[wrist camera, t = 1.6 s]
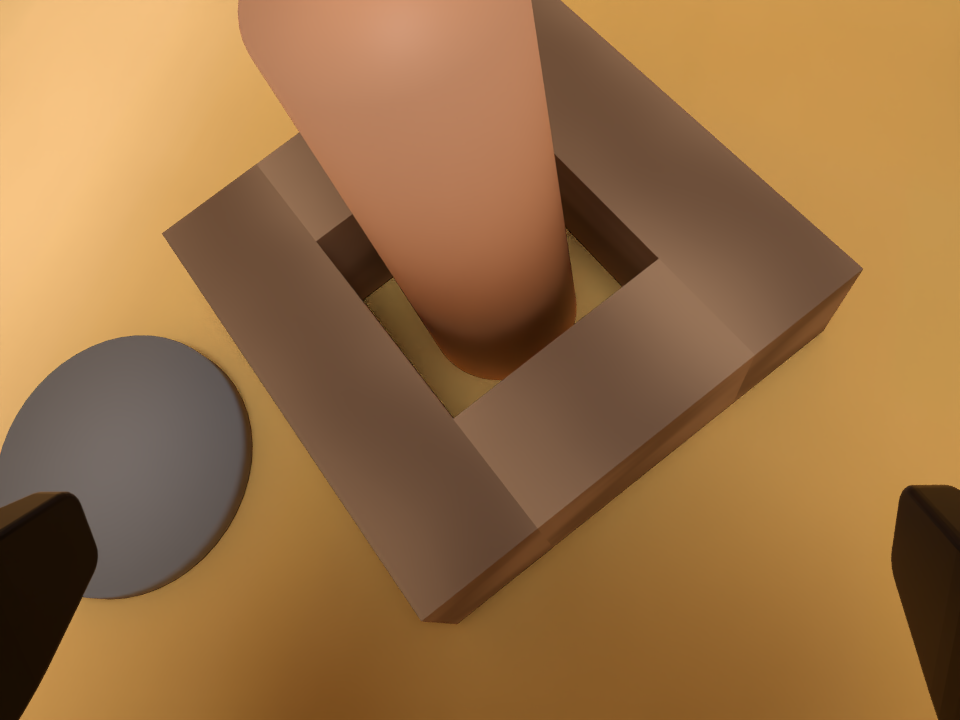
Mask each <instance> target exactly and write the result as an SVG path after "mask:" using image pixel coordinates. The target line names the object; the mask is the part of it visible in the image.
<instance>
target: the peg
mask: <svg viewBox="0 0 960 720" xmlns="http://www.w3.org/2000/svg"><path fill="white" fill-rule="evenodd" d="M238 20H239V28H240V32H241V36H242V40H243V42H244V45H245V47H246V49H247V51H248V53H249V55H250V57H251V58H252V60H253V61H254V63H255V64H256V66H257V67H258V69H259V71H260V72H261V74H262V75H263V77H264V78H265V80H266V81H267V83H268V84H269V86H270V87H271V89H272V91H273V92H274V94H275V95H276V97H277V98H278V100H279V101H280V103H281V104H282V106H283V108H284V109H285V111H286V112H287V114H288V115H289V117H290V118H291V120H292V121H293V123H294V125H295V126H296V128H297V129H298V131H299V132H300V134H301V135H302V137H303V138H304V140H305V141H306V143H307V145H308V146H309V148H310V149H311V151H312V152H313V154H314V155H315V157H316V158H317V160H318V162H319V163H320V165H321V166H322V168H323V169H324V171H325V172H326V174H327V175H328V177H329V178H330V180H331V182H332V183H333V185H334V186H335V188H336V189H337V191H338V192H339V194H340V195H341V197H342V199H343V200H344V202H345V203H346V205H347V206H348V208H349V209H350V211H351V212H352V214H353V216H354V217H355V219H356V220H357V222H358V223H359V225H360V226H361V228H362V229H363V231H364V232H365V234H366V236H367V237H368V239H369V240H370V242H371V243H372V245H373V246H374V248H375V249H376V251H377V253H378V254H379V256H380V257H381V259H382V260H383V262H384V263H385V265H386V266H387V268H388V270H389V271H390V273H391V274H392V276H393V277H394V279H395V280H396V282H397V283H398V285H399V286H400V288H401V290H402V291H403V293H404V294H405V296H406V297H407V299H408V300H409V302H410V303H411V305H412V307H413V308H414V310H415V311H416V313H417V314H418V316H419V317H420V319H421V320H422V322H423V323H424V325H425V327H426V328H427V330H428V331H429V333H430V334H431V336H432V337H433V339H434V340H435V342H436V344H437V345H438V347H439V348H440V350H441V351H442V352H443V354H444V355H445V356H446V357H447V358H448V360H449V361H450V362H452V363H453V364H454V365H455V366H457V367H458V368H460V369H461V370H463V371H465V372H467V373H469V374H471V375H474V376H477V377H481V378H485V379H492V380H504V379H505V378H506V377H507V376H509V375H510V374H511V373H513V372H514V371H515V370H516V369H518V368H519V367H520V366H522V365H523V364H524V363H525V362H527V361H528V360H529V359H531V358H532V357H533V356H534V355H536V354H537V353H538V352H539V351H541V350H542V349H543V348H545V347H546V346H547V345H548V344H550V343H551V342H552V341H554V340H555V339H556V338H557V337H559V336H560V335H561V334H563V333H564V332H565V331H566V330H568V329H569V328H570V327H572V326H573V325H574V323H575V317H576V297H575V290H574V283H573V276H572V270H571V263H570V256H569V250H568V243H567V236H566V230H565V223H564V216H563V209H562V203H561V196H560V189H559V183H558V176H557V169H556V163H555V156H554V149H553V143H552V136H551V129H550V122H549V116H548V109H547V102H546V96H545V89H544V82H543V76H542V69H541V62H540V55H539V49H538V42H537V35H536V29H535V22H534V15H533V9H532V2H531V0H239V3H238Z"/></svg>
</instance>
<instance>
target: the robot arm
mask: <svg viewBox="0 0 960 720" xmlns="http://www.w3.org/2000/svg"><path fill="white" fill-rule="evenodd" d="M97 562H98V549H97V545H96V543H95V540H94V537H93V535H92V532H91V529H90V526H89V524H88V521H87V518H86V516H85V513H84V510H83V508H82V505H81V503H80V501H79V499H78V498H77V497H76V496H75V495H74V494H72V493H70V492H37V493H33V494H31V495H28V496H26V497H24V498H22V499H19V500H17V501H15V502H12V503H10V504H8V505H6V506H3V507H1V508H0V720H19V719H20V717H21V716H22V714H23V712H24V711H25V709H26V707H27V706H28V704H29V702H30V700H31V699H32V697H33V695H34V693H35V692H36V690H37V688H38V686H39V684H40V683H41V681H42V679H43V677H44V675H45V673H46V671H47V669H48V667H49V665H50V663H51V661H52V659H53V657H54V655H55V653H56V650H57V648H58V646H59V644H60V642H61V640H62V638H63V636H64V634H65V632H66V630H67V628H68V626H69V624H70V622H71V620H72V617H73V615H74V613H75V611H76V609H77V607H78V605H79V603H80V601H81V599H82V597H83V595H84V593H85V591H86V589H87V587H88V584H89V582H90V580H91V578H92V576H93V574H94V572H95V570H96V566H97ZM891 562H892V571H893V576H894V580H895V583H896V586H897V590H898V593H899V596H900V599H901V603H902V606H903V609H904V612H905V616H906V619H907V622H908V625H909V629H910V632H911V635H912V638H913V642H914V645H915V648H916V651H917V655H918V658H919V661H920V664H921V668H922V671H923V674H924V677H925V681H926V684H927V687H928V690H929V694H930V697H931V700H932V703H933V706H934V709H935V712H936V715H937V718H938V720H960V490H959V489H957V488H955V487H953V486H949V485H910V486H908V487H906V488H905V489H904V490H903V491H902V493H901V496H900V499H899V504H898V511H897V518H896V525H895V532H894V539H893V546H892V554H891Z"/></svg>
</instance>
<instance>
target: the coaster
mask: <svg viewBox="0 0 960 720" xmlns="http://www.w3.org/2000/svg"><path fill="white" fill-rule="evenodd" d="M251 459H252V437H251V427H250V423H249V418H248V413H247V411H246V408H245V405H244V403H243V400H242V398H241V396H240V394H239V392H238V390H237V389H236V387H235V385H234V384H233V383H232V381H231V380H230V379H229V377H228V376H227V375H226V374H225V373H224V372H223V371H222V370H221V369H220V368H219V367H218V366H217V365H216V364H214V363H213V362H211V361H210V360H208V359H207V358H206V357H204V356H203V355H201V354H200V353H198V352H197V351H195V350H194V349H192V348H190V347H188V346H186V345H184V344H182V343H180V342H177V341H174V340H170V339H167V338H163V337H156V336H128V337H120V338H116V339H112V340H108V341H105V342H102V343H100V344H97V345H94V346H92V347H90V348H88V349H86V350H84V351H82V352H80V353H78V354H76V355H75V356H73V357H72V358H70V359H69V360H67V361H66V362H64V363H63V364H61V365H60V366H59V367H58V368H56V369H55V370H54V371H53V372H52V373H50V374H49V375H48V376H47V377H46V378H45V379H44V380H43V381H42V382H41V383H40V384H39V385H38V386H37V388H36V389H35V390H34V391H33V393H32V394H31V395H30V396H29V398H28V399H27V400H26V402H25V403H24V405H23V406H22V408H21V409H20V411H19V412H18V414H17V415H16V417H15V419H14V421H13V423H12V425H11V427H10V429H9V431H8V434H7V436H6V439H5V441H4V444H3V447H2V450H1V454H0V508H1V507H3V506H6V505H8V504H10V503H12V502H15V501H17V500H19V499H22V498H24V497H26V496H28V495H31V494H33V493H37V492H70V493H72V494H74V495H75V496H76V497H77V498H78V499H79V501H80V503H81V505H82V508H83V510H84V513H85V516H86V518H87V521H88V524H89V526H90V529H91V532H92V535H93V537H94V540H95V543H96V545H97V549H98V562H97V566H96V570H95V572H94V574H93V576H92V578H91V580H90V582H89V584H88V587H87V589H86V591H85V593H84V595H83V597H86V598H99V599H120V598H129V597H133V596H138V595H142V594H145V593H148V592H151V591H153V590H156V589H159V588H161V587H163V586H165V585H167V584H169V583H170V582H172V581H174V580H176V579H177V578H179V577H180V576H182V575H183V574H185V573H186V572H188V571H189V570H190V569H191V568H193V567H194V566H195V565H196V564H197V563H198V562H200V561H201V560H202V559H203V558H204V557H205V556H206V555H207V554H208V553H209V551H210V550H211V549H212V548H213V547H214V546H215V545H216V544H217V542H218V541H219V540H220V538H221V537H222V535H223V534H224V533H225V531H226V530H227V528H228V527H229V525H230V523H231V521H232V519H233V518H234V516H235V514H236V512H237V510H238V508H239V505H240V503H241V500H242V498H243V496H244V492H245V489H246V485H247V482H248V478H249V473H250V467H251Z"/></svg>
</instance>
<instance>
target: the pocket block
mask: <svg viewBox="0 0 960 720" xmlns="http://www.w3.org/2000/svg"><path fill="white" fill-rule="evenodd" d="M531 2H532V9H533V15H534V22H535V29H536V35H537V42H538V49H539V55H540V62H541V69H542V76H543V82H544V89H545V96H546V102H547V109H548V116H549V122H550V129H551V136H552V143H553V149H554V156H555V163H556V169H557V176H558V183H559V189H560V196H561V203H562V209H563V216H564V223H565V227H566V228H567V229H568V230H569V231H570V232H571V233H572V234H573V235H574V236H575V237H576V238H577V239H578V240H579V242H580V243H581V244H582V245H583V246H584V247H585V248H586V249H587V250H588V251H589V252H590V253H591V254H592V255H593V256H594V257H595V258H596V259H597V260H598V261H599V263H600V264H601V265H602V266H603V267H604V268H605V269H606V270H607V271H608V272H609V273H610V274H611V275H612V276H613V277H614V278H615V279H616V280H617V281H618V282H619V284H620V285H621V286H622V288H620V289H619V290H618V291H617V292H615V293H614V294H613V295H611V296H610V297H609V298H608V299H606V300H605V301H604V302H602V303H601V304H600V305H599V306H597V307H596V308H595V309H593V310H592V311H591V312H590V313H588V314H587V315H586V316H584V317H583V318H582V319H581V320H579V321H578V322H577V323H575V324H574V325H573V326H572V327H570V328H569V329H568V330H566V331H565V332H564V333H563V334H561V335H560V336H559V337H557V338H556V339H555V340H554V341H552V342H551V343H550V344H548V345H547V346H546V347H545V348H543V349H542V350H541V351H539V352H538V353H537V354H536V355H534V356H533V357H532V358H531V359H529V360H528V361H527V362H525V363H524V364H523V365H522V366H520V367H519V368H518V369H516V370H515V371H514V372H513V373H511V374H510V375H509V376H507V377H506V378H505V379H504V380H502V381H501V382H500V383H498V384H497V385H496V386H495V387H493V388H492V389H491V390H489V391H488V392H487V393H486V394H484V395H483V396H482V397H480V398H479V399H478V400H477V401H475V402H474V403H473V404H471V405H470V406H469V407H468V408H466V409H465V410H464V411H462V412H461V413H460V414H459V415H457V416H456V417H455V418H453V417H452V416H451V414H450V413H449V412H448V411H447V409H446V408H445V407H444V405H443V404H442V403H441V402H440V400H439V399H438V398H437V396H436V395H435V394H434V392H433V391H432V390H431V389H430V387H429V386H428V385H427V383H426V382H425V381H424V379H423V378H422V377H421V376H420V374H419V373H418V372H417V370H416V369H415V368H414V367H413V365H412V364H411V363H410V361H409V360H408V359H407V357H406V356H405V355H404V354H403V352H402V351H401V350H400V348H399V347H398V346H397V345H396V343H395V342H394V341H393V339H392V338H391V337H390V335H389V334H388V333H387V332H386V330H385V329H384V328H383V326H382V325H381V324H380V322H379V321H378V320H377V319H376V317H375V316H374V315H373V313H372V312H371V311H370V310H369V308H368V307H367V306H366V304H365V303H364V302H363V299H364V298H366V297H367V296H368V295H370V294H371V293H372V292H374V291H375V290H376V289H377V288H379V287H380V286H381V285H383V284H384V283H385V282H387V281H388V280H389V279H391V278H392V277H393V276H392V274H391V273H390V271H389V270H388V268H387V266H386V265H385V263H384V262H383V260H382V259H381V257H380V256H379V254H378V253H377V251H376V249H375V248H374V246H373V245H372V243H371V242H370V240H369V239H368V237H367V236H366V234H365V232H364V231H363V229H362V228H361V226H360V225H359V223H358V222H357V220H356V219H355V217H354V216H353V214H352V212H351V211H350V209H349V208H348V206H347V205H346V203H345V202H344V200H343V199H342V197H341V195H340V194H339V192H338V191H337V189H336V188H335V186H334V185H333V183H332V182H331V180H330V178H329V177H328V175H327V174H326V172H325V171H324V169H323V168H322V166H321V165H320V163H319V162H318V160H317V158H316V157H315V155H314V154H313V152H312V151H311V149H310V148H309V146H308V145H307V143H306V141H305V140H304V138H303V137H302V135H301V134H300V132H299V133H298V134H297V135H295V136H294V137H293V138H291V139H290V140H289V141H287V142H286V143H284V144H283V145H282V146H280V147H279V148H278V149H276V150H275V151H274V152H272V153H271V154H269V155H268V156H267V157H265V158H264V159H263V160H261V161H260V162H259V163H257V164H256V165H254V166H253V167H252V168H250V169H249V170H248V171H246V172H245V173H244V174H242V175H241V176H240V177H238V178H237V179H235V180H234V181H233V182H231V183H230V184H229V185H227V186H226V187H225V188H223V189H222V190H220V191H219V192H218V193H216V194H215V195H214V196H212V197H211V198H210V199H208V200H207V201H206V202H204V203H203V204H201V205H200V206H199V207H197V208H196V209H195V210H193V211H192V212H191V213H189V214H188V215H186V216H185V217H184V218H182V219H181V220H180V221H178V222H177V223H176V224H174V225H173V226H172V227H170V228H169V229H167V230H166V231H165V232H163V233H162V234H163V236H164V237H165V239H166V240H167V242H168V243H169V245H170V246H171V248H172V249H173V251H174V252H175V254H176V255H177V257H178V258H179V260H180V261H181V263H182V264H183V266H184V267H185V269H186V270H187V272H188V273H189V275H190V276H191V278H192V279H193V281H194V282H195V284H196V285H197V287H198V288H199V290H200V291H201V293H202V294H203V296H204V297H205V299H206V300H207V302H208V303H209V305H210V306H211V308H212V309H213V311H214V312H215V314H216V315H217V317H218V318H219V320H220V321H221V323H222V324H223V326H224V327H225V329H226V330H227V332H228V333H229V335H230V336H231V338H232V339H233V341H234V342H235V344H236V345H237V347H238V348H239V349H240V351H241V352H242V354H243V355H244V357H245V358H246V360H247V361H248V363H249V364H250V366H251V367H252V369H253V370H254V372H255V373H256V375H257V376H258V378H259V379H260V381H261V382H262V384H263V385H264V387H265V388H266V390H267V391H268V393H269V394H270V396H271V397H272V399H273V400H274V402H275V403H276V405H277V406H278V408H279V409H280V411H281V412H282V414H283V415H284V417H285V418H286V420H287V421H288V423H289V424H290V426H291V427H292V429H293V430H294V432H295V433H296V435H297V436H298V438H299V439H300V441H301V442H302V444H303V445H304V447H305V448H306V450H307V451H308V453H309V454H310V456H311V457H312V459H313V460H314V462H315V463H316V465H317V466H318V468H319V469H320V471H321V472H322V474H323V475H324V477H325V478H326V480H327V481H328V483H329V484H330V486H331V487H332V489H333V490H334V492H335V493H336V495H337V496H338V498H339V499H340V501H341V502H342V504H343V505H344V507H345V508H346V509H347V511H348V512H349V514H350V515H351V517H352V518H353V520H354V521H355V523H356V524H357V526H358V527H359V529H360V530H361V532H362V533H363V535H364V536H365V538H366V539H367V541H368V542H369V544H370V545H371V547H372V548H373V550H374V551H375V553H376V554H377V556H378V557H379V559H380V560H381V562H382V563H383V565H384V566H385V568H386V569H387V571H388V572H389V574H390V575H391V577H392V578H393V580H394V581H395V583H396V584H397V586H398V587H399V589H400V590H401V592H402V593H403V595H404V596H405V598H406V599H407V601H408V602H409V604H410V605H411V607H412V608H413V610H414V611H415V613H416V614H417V616H418V617H419V619H420V620H421V621H423V622H437V623H451V624H458V623H459V622H460V621H461V620H463V619H464V618H465V617H466V616H468V615H469V614H470V613H471V612H473V611H474V610H475V609H476V608H478V607H479V606H480V605H481V604H483V603H484V602H485V601H486V600H488V599H489V598H490V597H491V596H493V595H494V594H495V593H496V592H498V591H499V590H500V589H501V588H503V587H504V586H505V585H506V584H508V583H509V582H510V581H511V580H513V579H514V578H515V577H516V576H518V575H519V574H520V573H521V572H523V571H524V570H525V569H526V568H528V567H529V566H530V565H531V564H533V563H534V562H535V561H536V560H538V559H539V558H540V557H541V556H543V555H544V554H545V553H546V552H548V551H549V550H550V549H551V548H553V547H554V546H555V545H556V544H558V543H559V542H560V541H561V540H563V539H564V538H565V537H566V536H568V535H569V534H570V533H571V532H573V531H574V530H575V529H576V528H578V527H579V526H580V525H581V524H583V523H584V522H585V521H586V520H588V519H589V518H590V517H591V516H593V515H594V514H595V513H596V512H598V511H599V510H600V509H601V508H603V507H604V506H605V505H606V504H608V503H609V502H610V501H611V500H613V499H614V498H615V497H616V496H618V495H619V494H620V493H621V492H622V491H624V490H625V489H626V488H627V487H629V486H630V485H631V484H632V483H634V482H635V481H636V480H637V479H639V478H640V477H641V476H642V475H644V474H645V473H646V472H647V471H649V470H650V469H651V468H652V467H654V466H655V465H656V464H657V463H659V462H660V461H661V460H662V459H664V458H665V457H666V456H667V455H669V454H670V453H671V452H672V451H674V450H675V449H676V448H677V447H679V446H680V445H681V444H682V443H684V442H685V441H686V440H687V439H689V438H690V437H691V436H692V435H694V434H695V433H696V432H697V431H699V430H700V429H701V428H702V427H704V426H705V425H706V424H707V423H709V422H710V421H711V420H712V419H714V418H715V417H716V416H717V415H719V414H720V413H721V412H722V411H724V410H725V409H726V408H727V407H729V406H730V405H731V404H732V403H734V402H735V401H736V400H737V399H739V398H740V397H741V396H742V395H744V394H745V393H746V392H747V391H749V390H750V389H751V388H752V387H754V386H755V385H756V384H757V383H759V382H760V381H761V380H762V379H764V378H765V377H766V376H767V375H769V374H770V373H771V372H772V371H774V370H775V369H776V368H777V367H779V366H780V365H781V364H782V363H783V362H785V361H786V360H787V359H788V358H790V357H791V356H792V355H793V354H795V353H796V352H797V351H798V350H800V349H801V348H802V347H803V346H805V345H806V344H807V343H808V342H810V341H811V340H812V339H813V338H815V337H816V336H817V335H818V334H820V333H821V332H822V331H823V330H824V329H825V327H826V326H827V324H828V323H829V321H830V319H831V318H832V316H833V315H834V313H835V312H836V310H837V309H838V307H839V306H840V304H841V302H842V301H843V299H844V298H845V296H846V295H847V293H848V292H849V290H850V288H851V287H852V285H853V284H854V282H855V281H856V279H857V278H858V276H859V275H860V273H861V271H862V270H863V268H862V267H861V266H859V265H858V264H857V263H856V262H855V261H854V260H853V259H852V258H850V257H849V256H848V255H847V254H846V253H845V252H844V251H843V250H841V249H840V248H839V247H838V246H837V245H836V244H835V243H834V242H832V241H831V240H830V239H829V238H828V237H827V236H826V235H825V234H823V233H822V232H821V231H820V230H819V229H818V228H817V227H815V226H814V225H813V224H812V223H811V222H810V221H809V220H808V219H806V218H805V217H804V216H803V215H802V214H801V213H800V212H799V211H797V210H796V209H795V208H794V207H793V206H792V205H791V204H790V203H788V202H787V201H786V200H785V199H784V198H783V197H782V196H781V195H779V194H778V193H777V192H776V191H775V190H774V189H773V188H772V187H770V186H769V185H768V184H767V183H766V182H765V181H764V180H762V179H761V178H760V177H759V176H758V175H757V174H756V173H755V172H753V171H752V170H751V169H750V168H749V167H748V166H747V165H746V164H744V163H743V162H742V161H741V160H740V159H739V158H738V157H737V156H735V155H734V154H733V153H732V152H731V151H730V150H729V149H728V148H726V147H725V146H724V145H723V144H722V143H721V142H720V141H719V140H717V139H716V138H715V137H714V136H713V135H712V134H711V133H710V132H708V131H707V130H706V129H705V128H704V127H703V126H702V125H700V124H699V123H698V122H697V121H696V120H695V119H694V118H693V117H691V116H690V115H689V114H688V113H687V112H686V111H685V110H684V109H682V108H681V107H680V106H679V105H678V104H677V103H676V102H675V101H673V100H672V99H671V98H670V97H669V96H668V95H667V94H666V93H664V92H663V91H662V90H661V89H660V88H659V87H658V86H657V85H655V84H654V83H653V82H652V81H651V80H650V79H649V78H647V77H646V76H645V75H644V74H643V73H642V72H641V71H640V70H638V69H637V68H636V67H635V66H634V65H633V64H632V63H631V62H629V61H628V60H627V59H626V58H625V57H624V56H623V55H622V54H620V53H619V52H618V51H617V50H616V49H615V48H614V47H613V46H611V45H610V44H609V43H608V42H607V41H606V40H605V39H604V38H602V37H601V36H600V35H599V34H598V33H597V32H596V31H595V30H593V29H592V28H591V27H590V26H589V25H588V24H587V23H585V22H584V21H583V20H582V19H581V18H580V17H579V16H578V15H576V14H575V13H574V12H573V11H572V10H571V9H570V8H569V7H567V6H566V5H565V4H564V3H563V2H562V1H561V0H531Z"/></svg>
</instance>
